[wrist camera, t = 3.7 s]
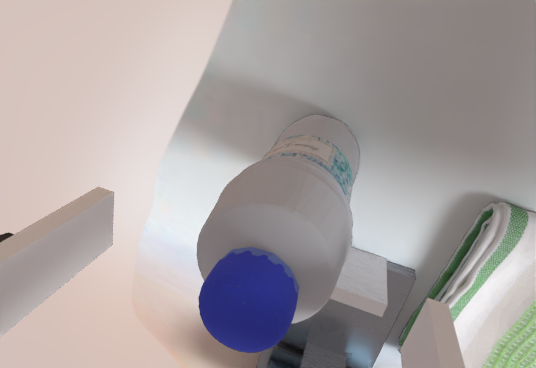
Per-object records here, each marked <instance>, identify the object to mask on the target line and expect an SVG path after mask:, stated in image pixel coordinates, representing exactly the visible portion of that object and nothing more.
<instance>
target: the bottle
mask: <svg viewBox="0 0 536 368" xmlns="http://www.w3.org/2000/svg"><path fill="white" fill-rule="evenodd" d="M359 160H360V151H359V146H358V144H357V141H356V139H355V137H354V136H353V134H352V133H351V131H350V130H349V128H348V127H347V125H346V124H344V123H343V122H342V121H340V120H336V119H333V118H330V117H326V116H321V115H309V116H306V117H304V118H302V119H300V120H297V121H296V122H294V123H293V124H291V125H290V126H289V127H288V128H287V129H286V130H284V132H283V133H282V134H281V135H280V137H279V138H278V140H277V142H276V143H275V145H274V147H273V148H272V149H271V150H270V151H269V152H268V153H267V155H266V156H265V157H264V158H263V159H262V160H261V161H259V162H257V163H255V164H253V165H251V166H249V167H248V168H246V169H245V170H243V171H242V172H241V173H240V174H239V175H238V176H237V177H235V178H234V179H233V180H232V181H231V182H230V183H229V184H228V185H227V186H226V187H225V188H224V190H223V192H222V193H221V195H220V197H219V200H218V202H217V204H216V205H215V207H214V209H213V211H212V212H211V214H210V216H209V217H208V219H207V221H206V223H205V224H204V226H203V228H202V229H201V232H200V234H199V238H198V243H197V260H198V266H199V269H200V272H201V275H202V277H203V279H204V283H203V286H202V288H201V292H200V295H199V310H200V315H201V318H202V321H203V323H204V325H205V327H206V328H207V330H208V331H209V332H210V334H211V335H212V336H213V337H214V338H215V339H217V340H218V341H219V342H220V343H222V344H224V345H225V346H227V347H229V348H231V349H234V350H237V351H241V352H247V353H251V352H260V351H264V350H266V349H269V348H271V347H273V346H275V345H276V344H278V343H279V342H280V341H281V340H282V338H283V337H284V336H285V335H286V333H287V331H288V330H289V327H290V325H291V324H292V323H298V322H300V321H303V320H305V319H308V318H310V317H311V316H313V315H314V314H316V313H317V312H319V311H320V309H321V308H322V307H323V306H324V305H325V304H326V303H327V302H328V300H329V298H330V297H331V295H332V293H333V291H334V288H335V286H336V283H337V281H338V278H339V276H340V273H341V270H342V268H343V266H344V264H345V262H346V260H347V258H348V256H349V253H350V250H351V245H352V226H353V222H352V212H351V209H350V206H349V203H350V197H351V192H352V186H353V183H354V181H355V178H356V175H357V172H358V169H359Z"/></svg>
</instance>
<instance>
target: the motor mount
mask: <svg viewBox="0 0 536 368" xmlns="http://www.w3.org/2000/svg"><path fill="white" fill-rule="evenodd" d="M415 280H416V276H415V270H412V269H409V268H406V267H403V266H400V265H397V264H394V263H391V262H388V261H386V258H383V257H380V256H377V255H374V254H371V253H368V252H365V251H362V250H359V249H356V248H353V247H351V250H350V253H349V256H348V258H347V260H346V262H345V264H344V266H343V268H342V270H341V273H340V276H339V278H338V281H337V283H336V286H335V288H334V291H333V293H332V295H331V297H330V298H329V300H328V302H327V303H326V304H325V305H324V306H323V307H322V308H321V309H320V311H319V312H317V313H316V314H314V315H313V316H311V317H310V318H308V319H305V320H303V321H300V322H298V323H292V324H291V325H290V327H289V330H288V331H287V333H286V335H285V336H284V337H283V338H282V340H281V341H280V342H279V343H278V344H276V345H275V346H273V347H271V348H269V349H266V350H264V351H261V353H260V357H259V360H258V364H257V367H256V368H372V367H373V365H374V363H375V361H376V359H377V357H378V355H379V353H380V351H381V349H382V347H383V345H384V342H385V340H386V338H387V336H388V334H389V332H390V330H391V328H392V326H393V324H394V322H395V320H396V318H397V316H398V314H399V312H400V310H401V308H402V306H403V304H404V302H405V300H406V298H407V296H408V294H409V292H410V290H411V288H412V286H413V284H414V282H415Z"/></svg>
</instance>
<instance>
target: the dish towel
mask: <svg viewBox="0 0 536 368" xmlns="http://www.w3.org/2000/svg"><path fill="white" fill-rule="evenodd" d="M427 298H430V299H433V300H436V301H439V302H442V303H445V304H448V305H449V308H450V312H451V316H452V320H453V323H454V327H455V331H456V335H457V338H458V342H459V346H460V350H461V353H462V357H463V361H464V365H465V368H536V213H534V212H530V211H526V210H523V209H521V208H518V207H516V206H513V205H510V204H507V203H504V202H502V203H498V204H495V203H490V204H489V205H488V206H486V207H485V208H483V209H482V211H481V212H480V214H479V215H478V217H477V218H476V220H475V221H474V223H473V225H472V226H471V228H470V229H469V231H468V232H467V233H466V234H465V236H464V237H463V240H462V241H461V243H460V245H459V247H458V248H457V249H456V251H455V253H454V254H453V257H452V258H451V260H450V261H449V263H448V265H447V266H446V268H445V269H444V271H443V272H442V273H441V275H440V277H439V279H438V281H437V282H436V283H435V285H434V286H433V287H432V289H431V291H430V292H429V294H428V295H427V297H426V298H425V300H424V301H423V303H422V304H421V306H420V307H419V308H418V309H417V310H416V311H415V312H414V314H413V315H412V317H411V319H410V321H409V322H408V324H407V325H406V327H405V329H404V330H403V333H402V335H401V336H400V337H399V339H400V340H399V345H401V346H402V345H403V343H404V342H405V340H406V338H407V336H408V334H409V332H410V330H411V328H412V326H413V324H414V322H415V321H416V319H417V317H418V315H419V313H420V311H421V309H422V307H423V305H424V303H425V301H426V300H427ZM398 351H399V352H400V353H401V348H400V349H399V350H398Z"/></svg>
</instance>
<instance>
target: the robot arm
mask: <svg viewBox="0 0 536 368" xmlns="http://www.w3.org/2000/svg"><path fill="white" fill-rule="evenodd" d="M113 206H114V192H112V191H109V190H106V189H103V188H101V187H97V188H95V189H93V190H91V191H90V192H88V193H86V194H85V195H83V196H81V197H79V198H77V199H76V200H74V201H72V202H70V203H69V204H67V205H65V206H64V207H62V208H60V209H58V210H56V211H55V212H53V213H51V214H49V215H48V216H46V217H44V218H42V219H41V220H39V221H37V222H36V223H34V224H32V225H30V226H28V227H27V228H25V229H23V230H21V231H20V232H18V233H16V234H11V233H6V234H3V235H0V337H1V336H2V335H3V334H5V333H6V332H7V331H8V330H9V329H10V328H12V327H13V326H14V325H16V324H17V323H18V322H19V321H20V320H22V319H23V318H24V317H25V316H27V315H28V314H29V313H30V312H31V311H33V310H34V309H35V308H36V307H37V306H39V305H40V304H41V303H42V302H43V301H45V300H46V299H47V298H48V297H49V296H51V295H52V294H53V293H54V292H56V291H57V290H58V289H59V288H61V287H62V286H63V285H64V284H65V283H67V282H68V281H69V280H70V279H71V278H73V277H74V276H75V275H76V274H77V273H79V272H80V271H81V270H82V269H84V268H85V267H86V266H87V265H88V264H90V263H91V262H92V261H93V260H95V258H97V257H98V256H99V255H101V254H102V253H103V252H104V251H105V250H107V249H108V248H109V247H110V246H112V241H113V239H112V238H113V208H114V207H113ZM401 361H402V368H465V365H464V361H463V357H462V353H461V350H460V346H459V342H458V338H457V335H456V331H455V327H454V323H453V320H452V316H451V312H450V308H449V305H448V304H445V303H442V302H439V301H436V300H433V299H430V298H427V300H426V301H425V303H424V305H423V307H422V309H421V311H420V313H419V315H418V317H417V319H416V321H415V322H414V324H413V326H412V328H411V330H410V332H409V334H408V336H407V338H406V340H405V342H404V343H403V345H402V347H401Z"/></svg>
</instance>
